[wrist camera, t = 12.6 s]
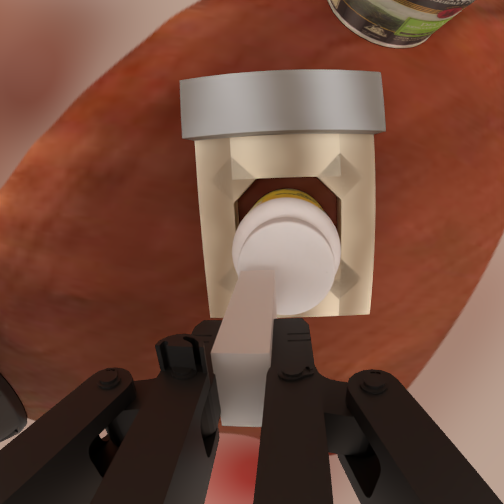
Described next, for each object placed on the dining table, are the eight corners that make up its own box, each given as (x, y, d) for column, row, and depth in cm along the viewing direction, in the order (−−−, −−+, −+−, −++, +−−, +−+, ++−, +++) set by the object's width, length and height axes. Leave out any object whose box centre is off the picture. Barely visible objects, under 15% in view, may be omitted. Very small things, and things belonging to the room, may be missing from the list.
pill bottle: (341, 217, 25) (378, 257, 14) (295, 277, 27) (299, 351, 16) (277, 171, 25) (270, 177, 14) (232, 234, 26) (197, 284, 16)
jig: (215, 307, 28) (202, 335, 23) (199, 94, 23) (179, 80, 19) (364, 303, 27) (378, 332, 22) (363, 87, 22) (380, 72, 17)
